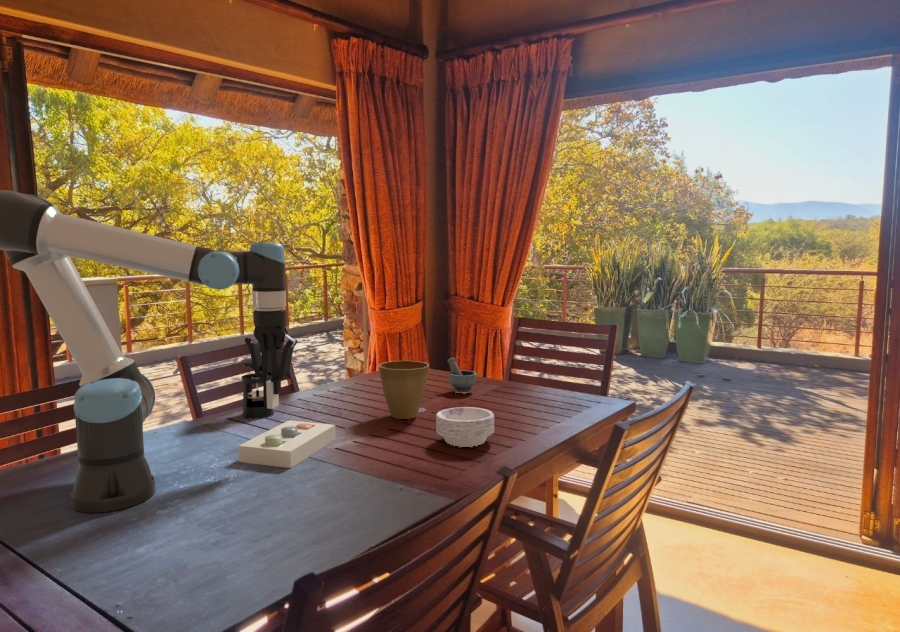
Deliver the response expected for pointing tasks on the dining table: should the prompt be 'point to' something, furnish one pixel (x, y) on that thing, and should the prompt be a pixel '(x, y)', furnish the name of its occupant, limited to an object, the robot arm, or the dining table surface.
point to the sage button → (273, 440)
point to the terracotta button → (304, 426)
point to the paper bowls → (465, 425)
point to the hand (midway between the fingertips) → (273, 407)
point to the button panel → (287, 445)
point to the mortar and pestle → (461, 377)
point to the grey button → (289, 432)
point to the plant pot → (404, 386)
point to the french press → (253, 396)
